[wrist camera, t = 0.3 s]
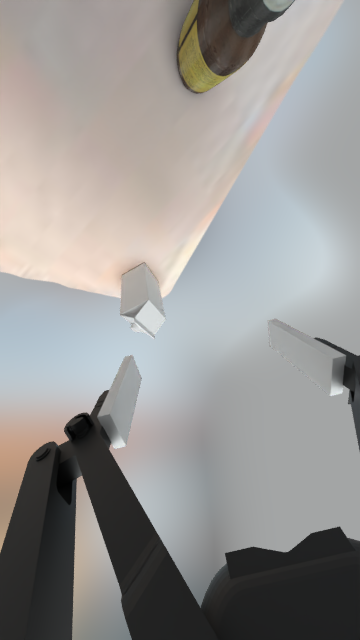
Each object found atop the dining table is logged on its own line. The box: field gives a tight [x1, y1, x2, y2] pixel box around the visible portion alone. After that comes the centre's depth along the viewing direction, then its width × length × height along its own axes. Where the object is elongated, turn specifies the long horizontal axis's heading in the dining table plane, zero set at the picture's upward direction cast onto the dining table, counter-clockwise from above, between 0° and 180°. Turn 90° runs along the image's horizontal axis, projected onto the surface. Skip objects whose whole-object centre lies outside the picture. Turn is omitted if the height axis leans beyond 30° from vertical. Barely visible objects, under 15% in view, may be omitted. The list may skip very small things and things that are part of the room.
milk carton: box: [120, 263, 166, 339], centre depth 41 cm, size 7×7×19 cm
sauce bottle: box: [177, 0, 295, 93], centre depth 17 cm, size 6×6×20 cm
